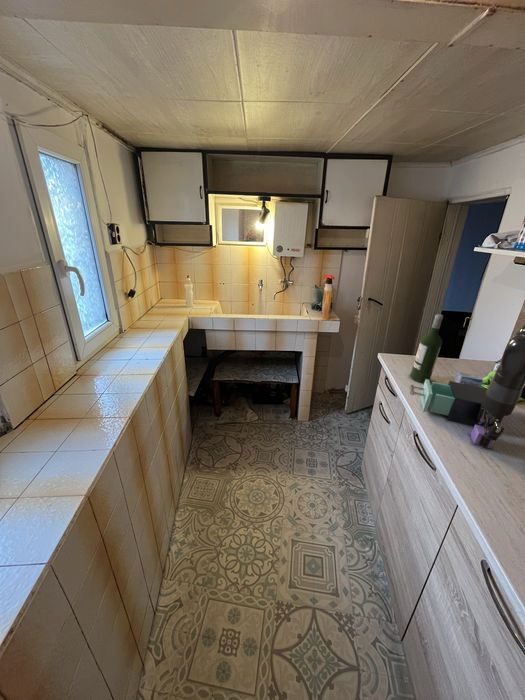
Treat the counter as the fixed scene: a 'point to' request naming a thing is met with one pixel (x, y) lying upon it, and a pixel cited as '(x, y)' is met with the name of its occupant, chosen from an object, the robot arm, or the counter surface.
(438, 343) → the wine bottle
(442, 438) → the counter surface
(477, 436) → the purple cube
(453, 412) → the drawer cabinet
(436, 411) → the drawer
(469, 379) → the medicine box
